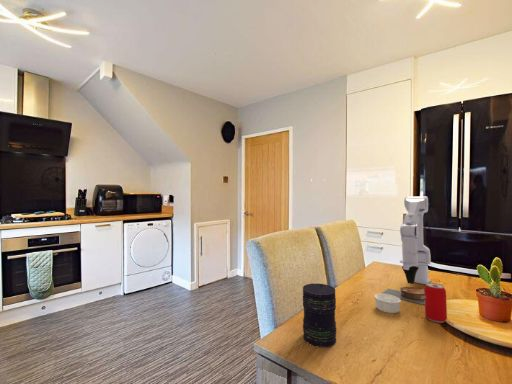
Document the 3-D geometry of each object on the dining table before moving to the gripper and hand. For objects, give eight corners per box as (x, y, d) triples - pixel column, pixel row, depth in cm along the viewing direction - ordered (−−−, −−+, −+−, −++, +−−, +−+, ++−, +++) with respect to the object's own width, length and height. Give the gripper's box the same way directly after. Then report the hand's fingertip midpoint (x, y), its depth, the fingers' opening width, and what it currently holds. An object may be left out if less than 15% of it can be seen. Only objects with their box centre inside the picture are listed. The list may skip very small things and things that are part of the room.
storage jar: (331, 352, 70) (330, 297, 70) (297, 341, 75) (297, 290, 75) (340, 335, 78) (339, 286, 79) (309, 327, 83) (309, 281, 84)
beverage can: (443, 317, 90) (442, 283, 91) (450, 325, 84) (449, 288, 85) (422, 314, 92) (421, 281, 93) (428, 322, 86) (427, 286, 87)
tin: (432, 287, 112) (444, 293, 104) (432, 295, 112) (445, 301, 104) (397, 286, 114) (406, 291, 105) (397, 293, 113) (406, 299, 105)
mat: (388, 289, 119) (388, 288, 119) (439, 300, 105) (439, 299, 105) (380, 294, 112) (380, 293, 112) (435, 307, 98) (435, 307, 98)
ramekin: (399, 306, 99) (399, 295, 100) (402, 316, 91) (401, 303, 92) (374, 303, 103) (374, 292, 103) (375, 311, 95) (374, 300, 95)
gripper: (404, 248, 119) (404, 277, 119) (394, 253, 109) (395, 285, 108) (421, 250, 114) (422, 281, 114) (413, 255, 104) (414, 289, 103)
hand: (410, 283), depth 111 cm, fingers closed
